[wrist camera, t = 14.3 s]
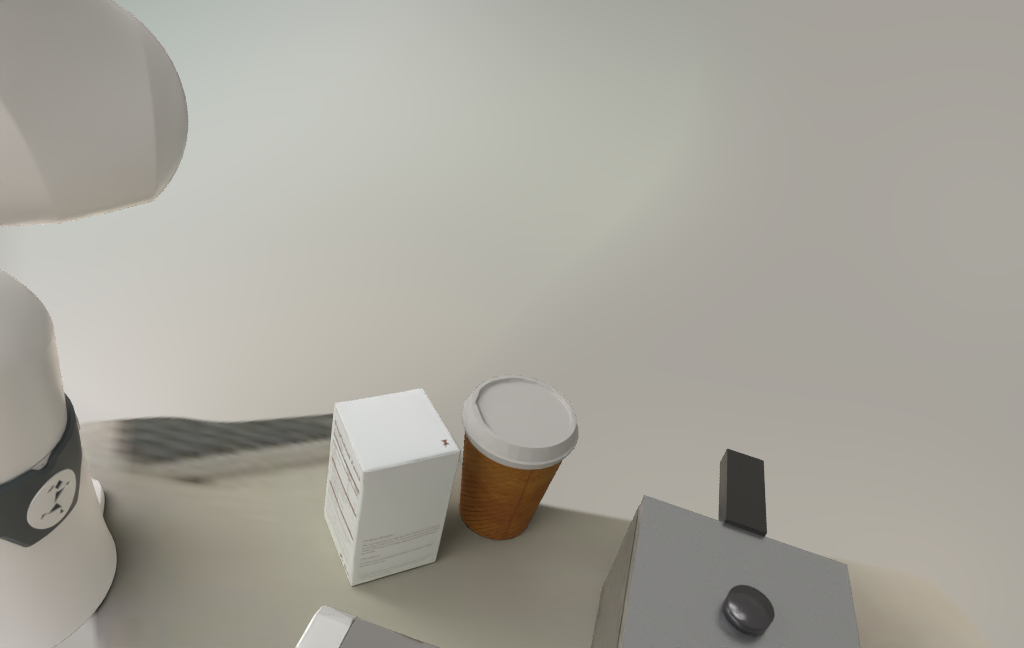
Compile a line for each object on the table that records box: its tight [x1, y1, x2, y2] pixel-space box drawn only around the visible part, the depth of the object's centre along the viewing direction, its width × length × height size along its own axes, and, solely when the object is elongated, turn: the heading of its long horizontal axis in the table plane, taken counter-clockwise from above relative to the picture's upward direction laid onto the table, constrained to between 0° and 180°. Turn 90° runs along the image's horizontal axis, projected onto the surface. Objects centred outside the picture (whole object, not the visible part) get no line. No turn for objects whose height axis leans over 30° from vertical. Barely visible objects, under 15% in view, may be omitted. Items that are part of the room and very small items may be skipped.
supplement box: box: [324, 388, 461, 586], centre depth 57 cm, size 7×7×13 cm
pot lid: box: [618, 449, 860, 648], centre depth 51 cm, size 15×23×2 cm, turn 165°
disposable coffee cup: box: [459, 375, 578, 540], centre depth 63 cm, size 10×10×12 cm
